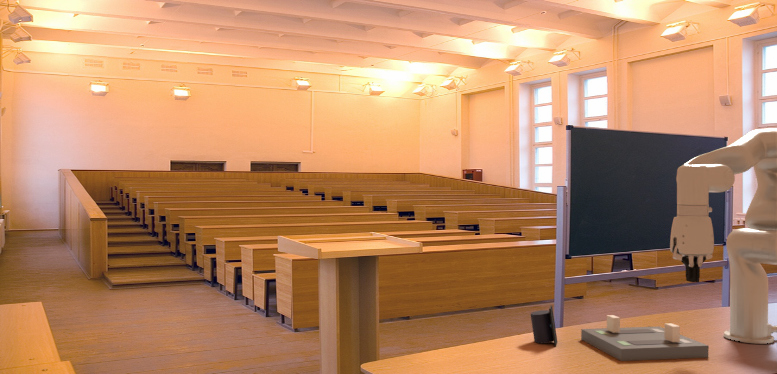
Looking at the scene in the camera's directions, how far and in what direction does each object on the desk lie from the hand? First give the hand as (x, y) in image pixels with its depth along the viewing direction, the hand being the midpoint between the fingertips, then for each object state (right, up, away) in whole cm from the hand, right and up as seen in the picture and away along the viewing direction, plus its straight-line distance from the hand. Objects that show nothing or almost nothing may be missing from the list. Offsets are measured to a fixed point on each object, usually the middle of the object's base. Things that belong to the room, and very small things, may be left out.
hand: (692, 281), depth 168 cm
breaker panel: (-12, -19, +4) cm, 22 cm away
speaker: (-37, -19, +9) cm, 42 cm away
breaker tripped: (-6, -15, -1) cm, 16 cm away
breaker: (-18, -15, +9) cm, 25 cm away
